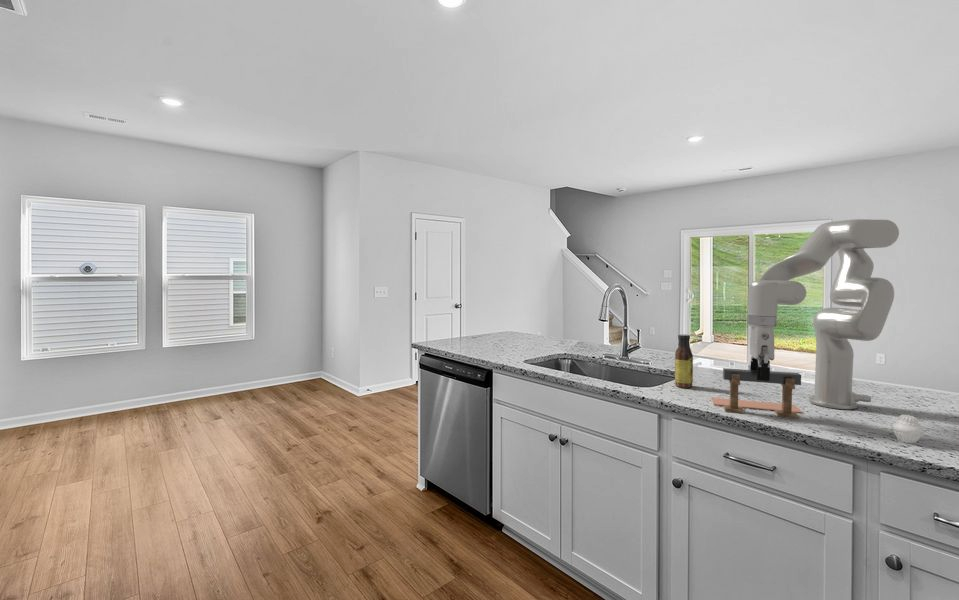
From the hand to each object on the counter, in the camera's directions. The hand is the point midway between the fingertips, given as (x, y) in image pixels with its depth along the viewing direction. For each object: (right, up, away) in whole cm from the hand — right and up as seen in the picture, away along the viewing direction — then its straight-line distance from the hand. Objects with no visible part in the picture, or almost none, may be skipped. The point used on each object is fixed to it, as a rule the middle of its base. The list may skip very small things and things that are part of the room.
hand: (759, 377), depth 135 cm
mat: (+4, -11, +8) cm, 14 cm away
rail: (0, -1, 0) cm, 1 cm away
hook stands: (+1, -11, +1) cm, 11 cm away
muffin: (+23, -13, -22) cm, 35 cm away
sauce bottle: (-8, -10, +33) cm, 36 cm away
